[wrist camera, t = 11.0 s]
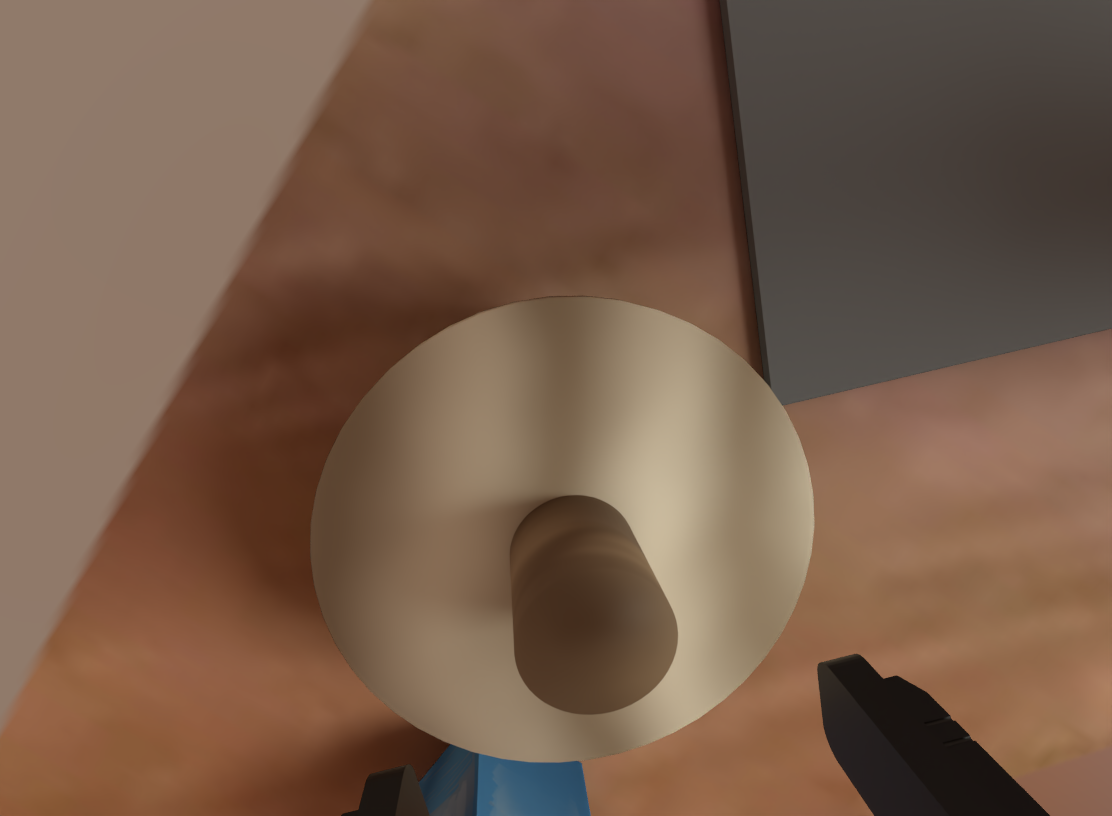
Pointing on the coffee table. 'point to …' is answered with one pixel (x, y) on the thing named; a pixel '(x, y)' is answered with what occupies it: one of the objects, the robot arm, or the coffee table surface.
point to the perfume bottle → (502, 786)
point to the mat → (920, 181)
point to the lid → (561, 529)
